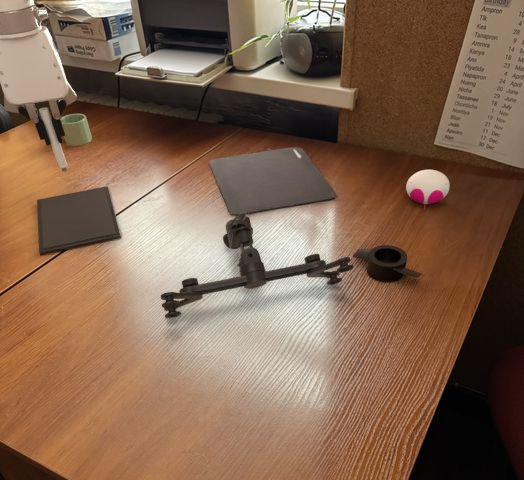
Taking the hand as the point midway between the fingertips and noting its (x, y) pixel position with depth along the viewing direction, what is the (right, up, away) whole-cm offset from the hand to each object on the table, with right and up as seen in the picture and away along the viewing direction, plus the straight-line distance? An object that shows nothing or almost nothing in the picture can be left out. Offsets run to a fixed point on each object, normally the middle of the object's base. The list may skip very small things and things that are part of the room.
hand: (54, 141), depth 90 cm
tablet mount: (+35, -26, -11) cm, 45 cm away
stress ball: (+67, -10, +3) cm, 68 cm away
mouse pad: (+39, -2, +13) cm, 41 cm away
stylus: (0, -4, +4) cm, 6 cm away
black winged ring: (+57, -25, -11) cm, 63 cm away
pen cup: (-7, +13, +31) cm, 34 cm away
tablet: (+2, -13, +5) cm, 14 cm away
